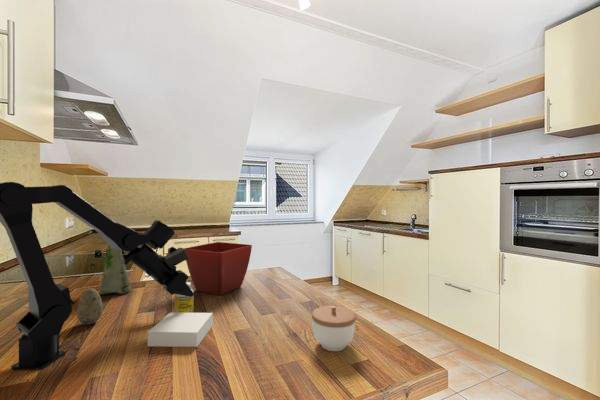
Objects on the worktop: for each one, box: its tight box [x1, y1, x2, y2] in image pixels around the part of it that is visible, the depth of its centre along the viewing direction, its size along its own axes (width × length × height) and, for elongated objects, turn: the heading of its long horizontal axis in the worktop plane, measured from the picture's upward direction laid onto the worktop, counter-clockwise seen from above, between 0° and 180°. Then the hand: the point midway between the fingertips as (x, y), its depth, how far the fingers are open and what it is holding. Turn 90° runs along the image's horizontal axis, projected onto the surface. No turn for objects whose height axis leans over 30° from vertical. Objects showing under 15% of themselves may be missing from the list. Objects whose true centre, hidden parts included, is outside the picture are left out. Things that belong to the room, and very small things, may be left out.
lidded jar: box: [311, 305, 357, 352], centre depth 71 cm, size 11×11×9 cm
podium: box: [147, 311, 214, 348], centre depth 76 cm, size 12×12×4 cm
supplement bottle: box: [174, 281, 195, 313], centre depth 89 cm, size 5×5×10 cm
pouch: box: [98, 244, 132, 295], centre depth 109 cm, size 11×12×25 cm
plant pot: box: [184, 241, 253, 296], centre depth 115 cm, size 19×19×17 cm
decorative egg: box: [76, 287, 104, 325], centre depth 82 cm, size 6×6×10 cm
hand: (188, 292), depth 90 cm, fingers open, 7 cm apart
